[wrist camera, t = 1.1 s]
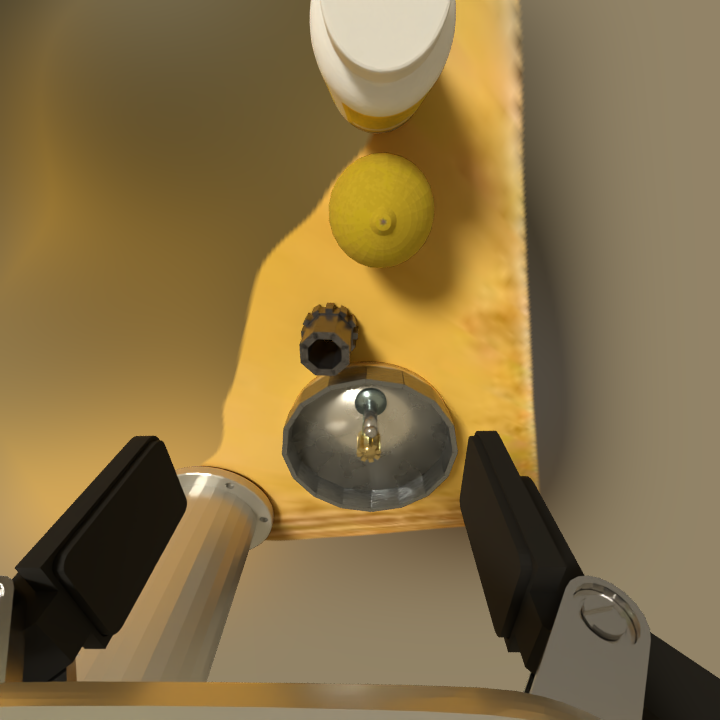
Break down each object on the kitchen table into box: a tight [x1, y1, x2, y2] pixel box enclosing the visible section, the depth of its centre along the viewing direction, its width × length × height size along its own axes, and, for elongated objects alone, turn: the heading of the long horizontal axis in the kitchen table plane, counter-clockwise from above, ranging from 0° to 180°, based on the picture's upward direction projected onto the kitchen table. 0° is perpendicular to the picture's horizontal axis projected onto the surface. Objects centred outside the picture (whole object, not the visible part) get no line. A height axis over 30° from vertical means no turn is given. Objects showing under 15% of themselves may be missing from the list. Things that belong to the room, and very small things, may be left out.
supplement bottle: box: [310, 0, 456, 134], centre depth 14 cm, size 5×5×10 cm
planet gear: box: [299, 303, 358, 376], centre depth 24 cm, size 4×4×4 cm
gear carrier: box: [282, 362, 458, 512], centre depth 28 cm, size 14×14×5 cm
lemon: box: [329, 153, 434, 268], centre depth 18 cm, size 6×6×8 cm
